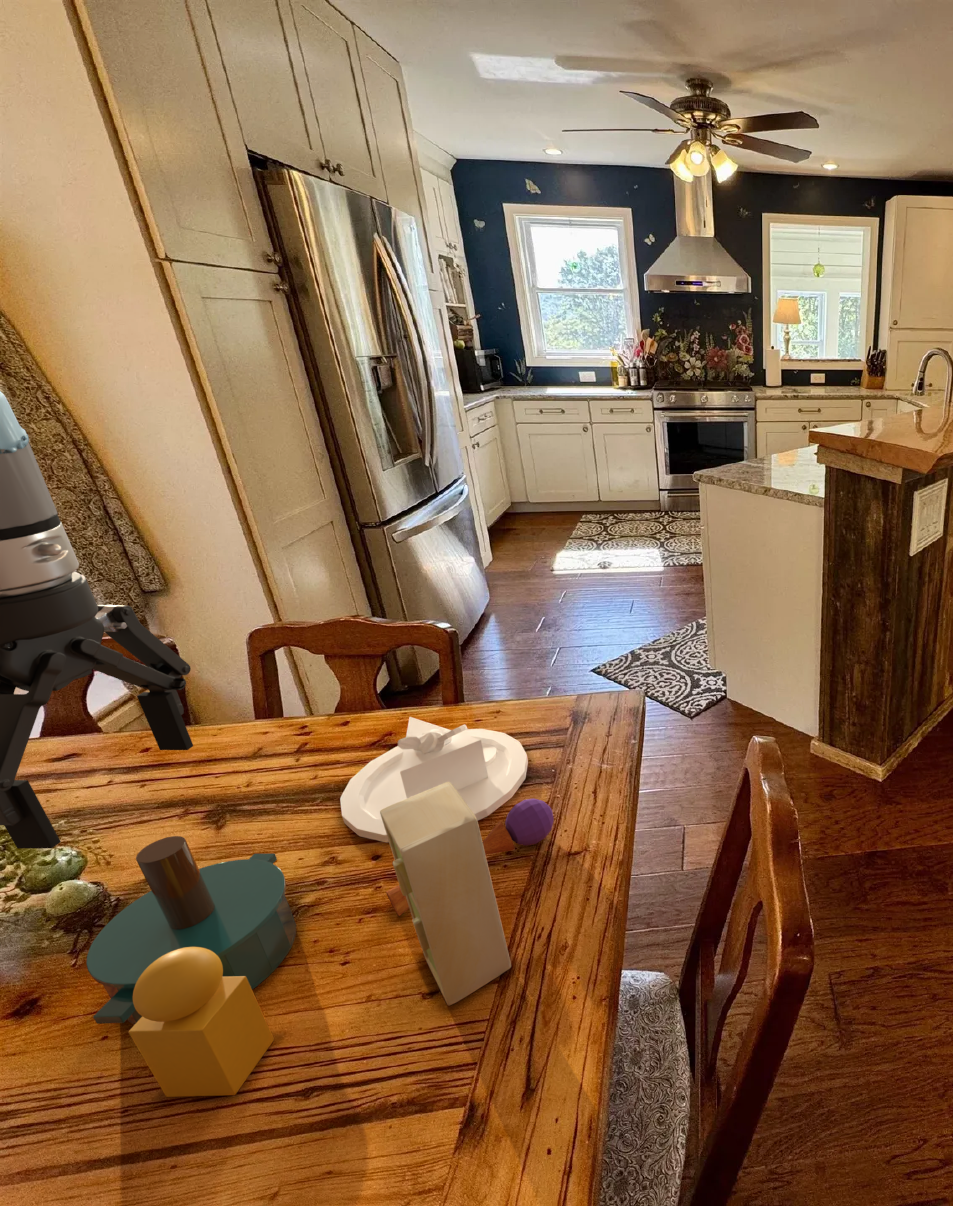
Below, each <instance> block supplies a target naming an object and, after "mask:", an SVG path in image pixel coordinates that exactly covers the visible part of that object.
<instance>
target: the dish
mask: <svg viewBox="0 0 953 1206" xmlns="http://www.w3.org/2000/svg"><path fill="white" fill-rule="evenodd" d="M528 766H529V759H528V754H527V752H526V750H525V748H524V747H523V745H522V743H521V742H520V741H519V740H517V739H515V738H514V737H512V736H511V735H508V734H507V733H505V732H501V731H496V730H493V729H492V730H491V729H486V728H468V727H467V725H466V723H465V724H462V725H459V726H458V727H455V728H454V729H449V728H446V727H443V726H440V725H436V724H434V723H430V722H427V721H424V720H421V719H418V718H415V717H412V716H409V718H408V723H407V728H406V734H405V737H402V738H400V739H398V740H397V746H395V747H393V748H391V749H390V750H388V751H386V752H384V753H382V754H380V755H379V756H377V757H375V758H373V759H372V760H370V761H369V762H368V763H367V764H366V765H365V766H364V767H362V768H361V769H360V770H358V772H357V773H356V774H355V775H353V776H352V777H351V778H350V779H349V781H348V783H347V785H346V786H345V789H344V790H343V792H342V794H341V796H340V798H339V801H340V811H341V817H342V821H343V823H344V825H346V826H347V827H348V828H349V829H350V830H352V831H353V832H354V833H355V834H356V835H357V836H358V837H361V838H364V839H369V840H374V841H378V842H382V843H389V840H388V837H387V834H386V831H385V827H384V824H383V821H382V818H381V814H380V811H381V810H382V809H384V808H386V807H388V806H390V805H393V804H395V803H397V802H400V801H402V800H405V799H407V798H410V797H412V796H414V795H417V794H419V793H421V792H424V791H426V790H429V789H431V788H434V787H436V786H438V785H441V784H443V783H446V782H450V783H451V784H452V785H453V786H454V787H455V789H456V790H457V792H458V793H459V794H460V796H461V797H462V798H463V800H464V801H465V802H466V804H467V805H468V806H469V808H470V809H471V810H472V812H473V813H474V815H475V816H476V818H477V821H480V820H482V819H485V818H487V817H488V816H490V815H491V814H493V813H494V812H495V811H496V810H497V809H499V808H500V807H502V806H504V804H505V803H507V802H508V801H509V800H510V799H513V797H514V795H515V794H516V792H517V791H518V789H519V788H520V787H521V785H522V784H523V783H524V781H525V780H526V777H527V771H528Z"/></svg>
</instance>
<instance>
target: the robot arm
mask: <svg viewBox="0 0 953 1206" xmlns="http://www.w3.org/2000/svg"><path fill="white" fill-rule="evenodd" d="M29 437H30V436H29V434H28V433H27V431H26V429H24V428H23V427H22V426H21V425H20V423H19V421H18V419H17V417H16V415H15V413H14V410H13V409H12V407H11V405H10V403H9V401H8V399H7V397H6V395H5V394H4V393H3V392H2V391H1V390H0V826H4V828H5V830H6V831H7V833H8V836H10V838H11V840H12V842H13V844H14V845H15V847H16V849H19V850H20V849H53V848H54V847H56V846H57V845H59V844H60V843H61V839H60V837H59V836H58V833H57V832H56V830H55V828H54V826H53V824H52V823H51V821H50V818H49V817H48V815H47V813H46V811H45V810H44V807H43V806H42V804H41V802H40V800H39V798H38V796H37V795H36V793H35V791H34V789H33V787H32V785H31V784H30V782H29V780H28V779H16V776H17V774H18V771H19V768H20V765H21V762H22V759H23V758H24V755H25V751H26V748H27V746H28V743H29V740H30V737H31V734H32V732H33V728H34V726H35V723H36V720H37V717H38V715H39V711H40V709H41V708H42V707H44V706H45V705H47V703H49V701H50V698H51V695H52V693H53V692H59V690H61V689H63V688H65V687H67V686H68V685H70V684H71V683H72V682H73V681H75V680H78V679H82V678H85V677H87V676H89V675H91V674H93V671H96V672H98V673H101V674H103V675H106V676H108V677H111V678H114V679H117V680H120V681H123V682H125V683H128V684H130V685H132V686H136V687H139V688H141V689H144V690H148V691H143V692H141V693H140V694H138V695H136V698H137V700H138V703H139V705H140V707H141V710H142V712H143V714H144V717H145V718H146V721H147V724H148V727H149V728H150V730H151V733H152V735H153V737H154V739H155V743H156V745H157V748H158V749H159V751H190V749H192V748H193V747H194V743H193V741H192V738H191V736H190V733H189V731H188V728H187V726H186V724H185V721H184V719H183V716H182V715H183V714H184V710H185V709H184V705H183V703H182V701H181V698H180V695H179V693H178V691H181V690H184V689H185V687H186V686H187V680H186V679H185V678H184V677H182V676H187V675H189V674H190V672H191V670H192V669H191V665H190V664H189V663H188V662H187V661H185V660H184V659H183V658H182V657H180V656H179V655H178V654H177V653H176V652H175V651H174V650H173V649H171V648H170V647H169V646H168V645H167V644H165V643H164V642H163V641H162V640H161V639H159V637H158V636H156V635H155V634H153V632H151V631H150V630H149V629H148V628H147V627H145V626H144V625H143V624H142V623H141V622H140V620H139V618H138V616H137V614H136V612H135V610H134V609H133V607H132V606H130V605H122V604H121V605H119V604H117V605H115V604H114V605H113V604H97V601H96V598H95V597H94V594H93V592H92V590H91V587H90V585H89V583H88V580H87V578H86V576H85V575H83V574H80V573H79V572H78V571H77V572H76V570H78V569H79V566H80V563H79V560H78V558H77V556H76V553H75V551H74V548H73V546H72V544H71V542H70V539H69V537H68V534H67V532H66V530H65V527H64V525H63V523H62V521H61V519H60V517H59V515H58V510H57V507H56V505H55V503H54V501H53V498H52V497H51V493H50V491H49V488H48V485H47V483H46V481H45V478H44V476H43V474H42V471H41V468H40V466H39V464H38V461H37V458H36V456H35V453H34V451H33V448H32V446H31V444H30V440H29V439H30V438H29ZM104 633H105V634H106V635H107V636H109V638H110V639H112V640H113V641H115V642H116V643H117V644H118V645H120V646H121V647H122V648H123V649H125V650H126V651H127V652H129V653H130V654H131V655H132V656H134V657H135V658H136V659H138V661H140V662H141V663H140V662H138V661H136V660H133V659H130V658H128V657H126V656H124V653H121V652H119V651H117V650H115V649H112V648H110V647H107V646H105V645H102V642H103V637H104ZM92 670H93V671H92ZM16 689H19V690H22V691H26V693H15V691H16Z"/></svg>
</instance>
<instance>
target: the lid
mask: <svg viewBox="0 0 953 1206" xmlns="http://www.w3.org/2000/svg"><path fill="white" fill-rule="evenodd" d="M135 860H136V863H137V865H138V867H139V869H140V870H141V872H142V875H143V877H144V878H145V880H146V882H147V885H148V887H149V889H150V890H149V891H148V892H146V893H145V894H143V895H142V896H140V897H139V898H137V899H135V900H134V901H133V902H131V903H130V904H128V905H127V906H126V907H124V908H123V909H122V910H121V911H120V912H118V913H117V914H116V915H115V916H114V917H113V918H112V919H111V920H110V921H108V923H106V924H105V926H104V927H103V928H102V929H101V930H100V931H99V933H98V934H97V935H96V937H95V938H94V939H93V941H92V943H91V945H90V946H89V949H88V952H87V955H86V962H85V963H86V968H87V971H88V973H89V975H90V976H91V977H92V979H93V980H94V981H96V982H97V983H99V984H100V985H102V986H103V985H105V986H109V987H114V988H134V987H135V985H136V983H137V981H138V979H139V977H140V976H141V974H142V973H143V972H144V971H145V969H146V968H147V967H148V966H149V965H151V964H152V963H153V962H154V961H155V960H157V959H158V958H160V957H161V956H163V955H165V954H167V953H169V952H171V951H174V950H177V949H181V948H185V947H202V948H206V949H209V950H211V951H212V952H214V953H215V954H216V955H217V956H218V957H219V958H221V957H222V956H224V955H225V954H227V953H229V952H230V951H232V950H233V949H235V948H236V947H238V946H239V945H241V944H242V943H243V942H245V941H246V940H247V939H249V938H250V937H251V936H252V935H254V934H255V933H256V932H257V931H258V930H259V929H260V928H261V927H262V926H263V925H264V924H265V923H266V922H267V921H268V920H269V919H270V918H271V917H272V915H273V914H274V913H275V911H276V910H277V909H278V907H279V905H280V904H281V902H282V900H283V897H284V895H285V896H286V890H287V881H286V877H285V873H283V871H282V869H281V868H279V867H278V866H277V865H276V864H274V863H273V864H272V863H270V862H266V861H262V860H254V859H249V858H248V859H247V858H246V859H235V860H228V861H223V862H222V861H221V862H218V863H214V864H211V865H206V866H203V867H201V868H199V867H198V864H197V862H196V860H195V857H194V856H193V853H192V851H191V848H190V847H189V843H188V842H187V840H186V838H185V837H183V836H181V835H173V836H168V837H167V836H166V837H164V838H160V839H158V840H156V841H153V842H152V843H149V844H148V845H146V846H145V847H143V848H142V849H141V850H140V851H139V852H138V853H137V854H136V857H135Z"/></svg>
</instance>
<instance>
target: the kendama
mask: <svg viewBox="0 0 953 1206" xmlns="http://www.w3.org/2000/svg"><path fill="white" fill-rule="evenodd" d="M554 822H555V819H554V813H553V809H552V807H551V806H550V805H549V804H548V803H546V802H545V801H544V800H541V799H539V798H538V799H537V798H527V799H523V800H522V801H520V802H518V803H516V804H515V805H514V806H513V807H512V808H511V809H510V811H509V812H508V813H507V815H506V818H505V821H504V824H505V825H504V824H503V823H502V822H501V821H498V822H497V823H496V825H495V826H494V827H493V828H492V829H491V831H490V832H489V833H488V835H487V836H486V837H485V838H484V840H482V842H483V847H484V851H485V855H492V854H493V855H494V854H499V853H506V852H511V851H514V850H515V844H516V845H520V846H525V847H527V846H532V845H537V844H538V843H540V842H541V841H542V840H545V839H546V838H547V836H548V835H549V834H550V832H552V828H553V826H554ZM514 843H515V844H514ZM385 894H386V896H387V898H388V900H389V902H390V904H391V907H392V908H393V909H394V912H395V913H396V915H397V916H398V917H400V916H402V914H404V913H406V912H407V911H408V910H410V908H409V905H408V902H407V899H406V896H403V894H402V892H401V889H400V885H399V884H398V885H396V886H394V887H392V888H389V889H388V890H386V891H385Z"/></svg>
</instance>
